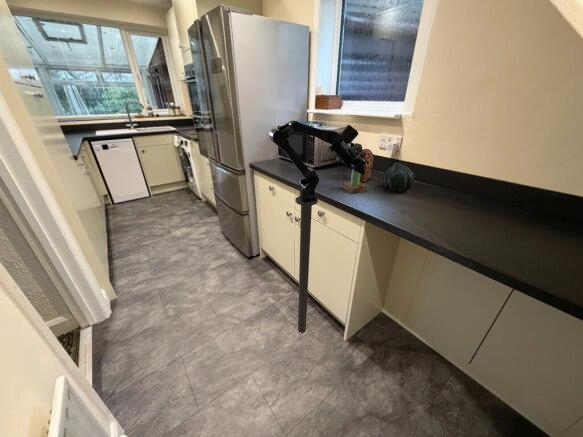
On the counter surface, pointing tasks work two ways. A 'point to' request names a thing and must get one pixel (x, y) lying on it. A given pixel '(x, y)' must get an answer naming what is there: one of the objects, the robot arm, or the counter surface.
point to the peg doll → (355, 178)
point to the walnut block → (354, 187)
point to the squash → (398, 178)
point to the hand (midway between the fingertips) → (358, 171)
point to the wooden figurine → (368, 157)
